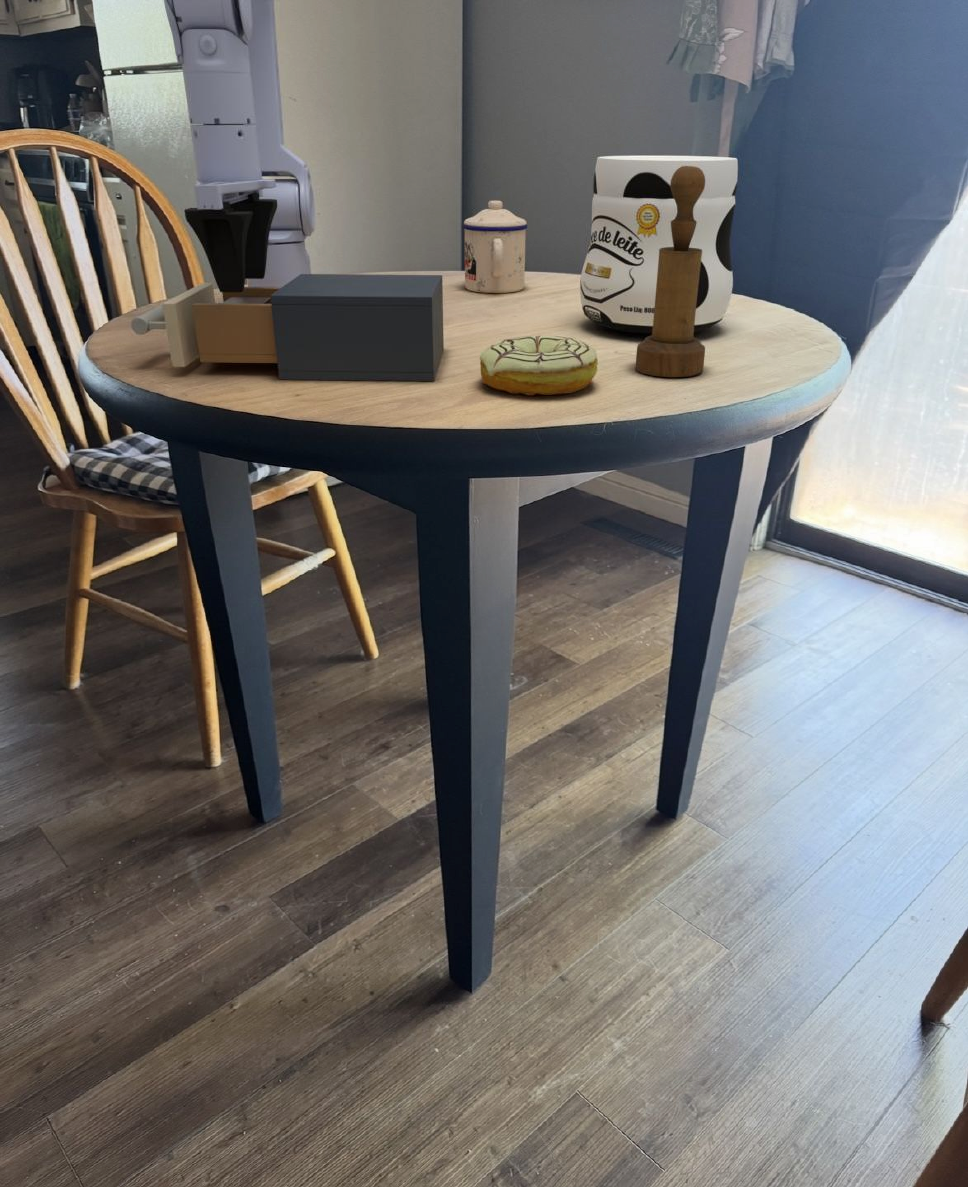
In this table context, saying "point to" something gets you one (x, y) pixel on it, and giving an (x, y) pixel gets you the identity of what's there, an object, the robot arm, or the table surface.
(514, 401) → the table surface
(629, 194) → the milk container
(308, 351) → the cabinet
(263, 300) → the block
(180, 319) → the drawer
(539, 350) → the decorated donut
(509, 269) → the teacup with lid
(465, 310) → the table surface
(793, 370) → the table surface
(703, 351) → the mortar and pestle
